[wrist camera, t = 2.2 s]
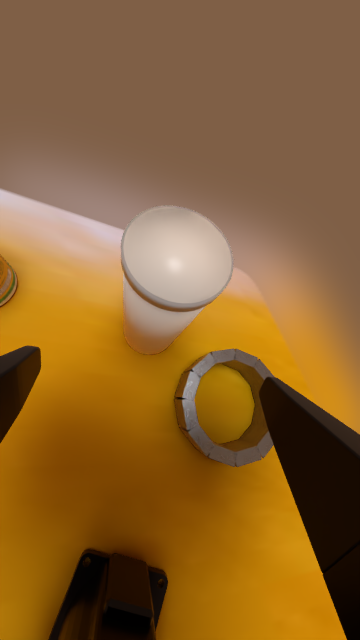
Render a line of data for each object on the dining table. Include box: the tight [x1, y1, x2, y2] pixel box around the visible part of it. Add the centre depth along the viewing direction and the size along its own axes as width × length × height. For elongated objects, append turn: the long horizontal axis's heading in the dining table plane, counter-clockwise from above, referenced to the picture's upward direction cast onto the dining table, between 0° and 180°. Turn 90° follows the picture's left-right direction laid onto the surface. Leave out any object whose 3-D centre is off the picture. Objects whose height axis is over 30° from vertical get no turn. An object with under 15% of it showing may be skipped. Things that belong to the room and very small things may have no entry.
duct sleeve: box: [121, 206, 233, 355], centre depth 16 cm, size 5×5×13 cm
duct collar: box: [174, 349, 274, 467], centre depth 20 cm, size 9×9×3 cm
